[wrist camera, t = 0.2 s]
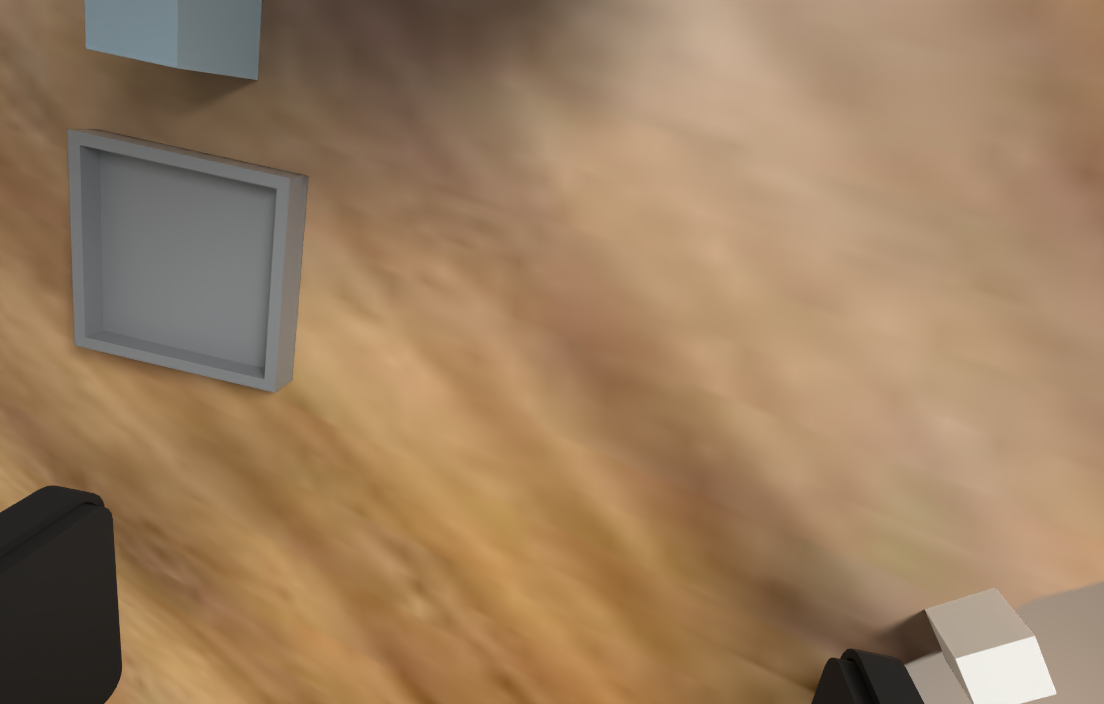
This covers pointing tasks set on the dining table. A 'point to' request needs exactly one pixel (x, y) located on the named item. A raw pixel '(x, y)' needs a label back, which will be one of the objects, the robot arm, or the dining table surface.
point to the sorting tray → (185, 258)
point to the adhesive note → (990, 649)
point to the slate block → (179, 33)
